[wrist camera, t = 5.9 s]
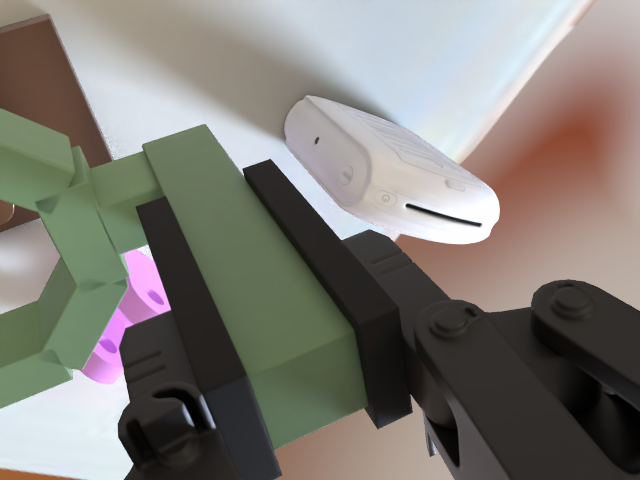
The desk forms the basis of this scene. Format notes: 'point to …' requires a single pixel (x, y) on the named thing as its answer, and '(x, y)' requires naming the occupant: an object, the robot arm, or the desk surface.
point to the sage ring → (209, 253)
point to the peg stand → (45, 96)
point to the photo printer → (388, 174)
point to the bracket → (127, 316)
